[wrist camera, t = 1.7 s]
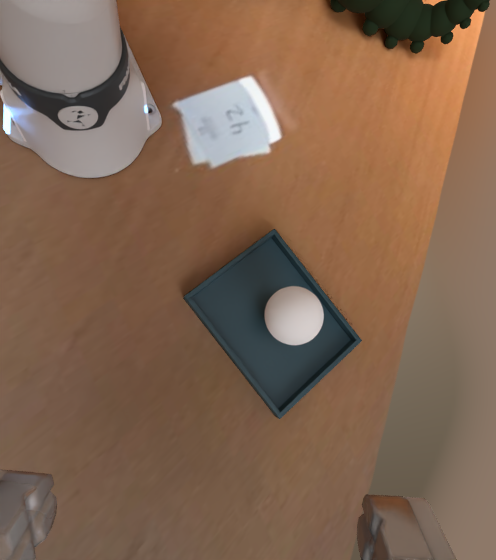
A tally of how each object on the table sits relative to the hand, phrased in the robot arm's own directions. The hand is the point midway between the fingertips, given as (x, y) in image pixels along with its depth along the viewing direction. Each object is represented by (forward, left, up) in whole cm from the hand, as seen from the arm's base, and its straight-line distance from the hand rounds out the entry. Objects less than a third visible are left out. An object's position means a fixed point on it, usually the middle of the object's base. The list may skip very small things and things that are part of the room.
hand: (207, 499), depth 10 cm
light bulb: (-4, +14, -37) cm, 40 cm away
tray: (-4, +14, -37) cm, 40 cm away
